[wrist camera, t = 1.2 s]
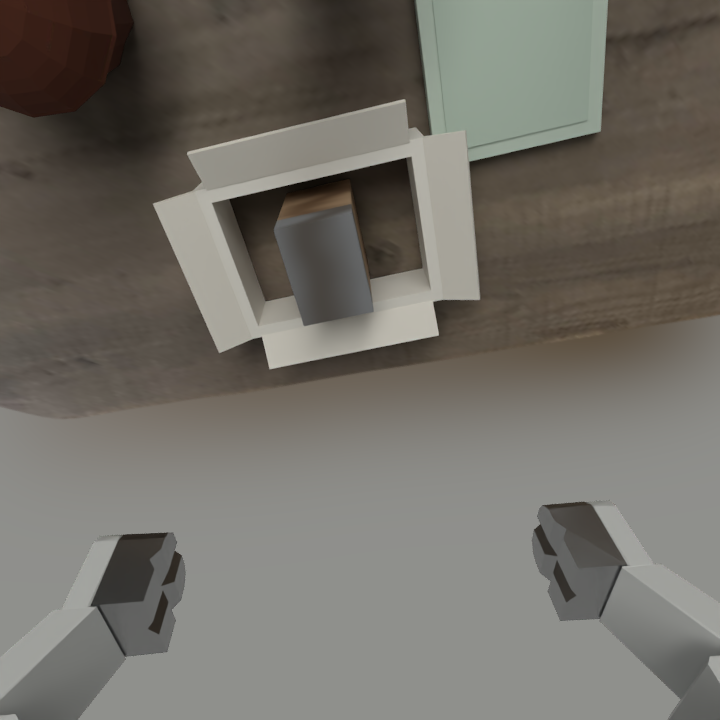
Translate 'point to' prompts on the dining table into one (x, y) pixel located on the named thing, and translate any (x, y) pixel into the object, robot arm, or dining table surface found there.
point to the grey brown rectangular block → (324, 253)
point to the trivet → (512, 70)
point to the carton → (311, 161)
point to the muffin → (58, 52)
